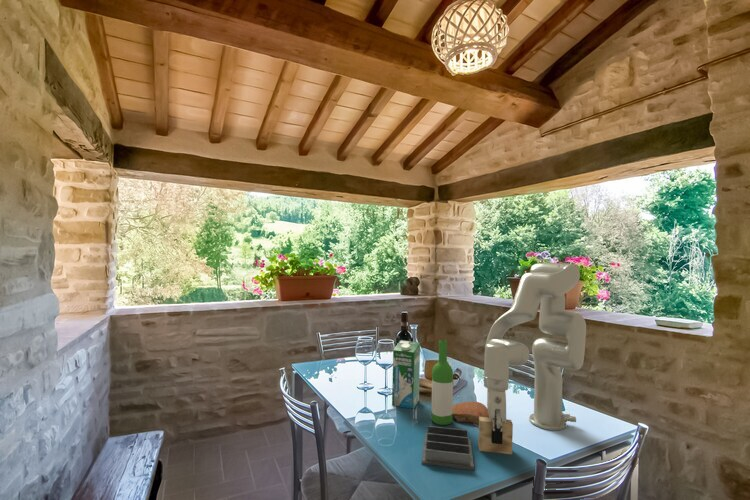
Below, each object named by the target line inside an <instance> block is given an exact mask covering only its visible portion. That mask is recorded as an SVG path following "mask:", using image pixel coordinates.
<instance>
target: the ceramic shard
mask: <svg viewBox="0 0 750 500" xmlns="http://www.w3.org/2000/svg"><path fill="white" fill-rule="evenodd" d="M488 416H489V415H488V410H487V406H486V405H485V404H484V403H482V402H478V401H462V402H459V403H456V404H453V413H452V420H453V419H454V420H456V421H457V422H458V423H463V422H464V423H472V424H477V425H479V417H488Z"/></svg>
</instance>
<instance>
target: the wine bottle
mask: <svg viewBox="0 0 750 500" xmlns="http://www.w3.org/2000/svg"><path fill="white" fill-rule="evenodd" d="M453 371H454V370H453V368H452V366H451V364H450V363H448V341H447V340H445V339H440V340H438V361H437V362H436V363H435V364H434V366H433V367H432V371H431V406H430V407H431V409H430V410H431V414H430V415H431V421H432V422H433V423H434V424H436V425H439V426H446V425H450V424H451V423H452V421H453V418H452V413H453V405H454V402H453V401H454V400H453V397H454V394H453V393H454V372H453Z"/></svg>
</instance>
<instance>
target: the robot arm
mask: <svg viewBox="0 0 750 500" xmlns="http://www.w3.org/2000/svg"><path fill="white" fill-rule="evenodd" d="M580 277H581V273H580V270H579V267H578V266H576V265H575V264H572V263H558V262H557V263H554V262H538V263H534V264H532V266H530V269H529V272H526V273H524V274H522V276H521V277H520V279H519V283H518V286H517V288H516V292H515V295H514V298H513V301H512V303H511V307H510V308H509V310H507V311H506V312H504V313H503V314H502V315H500V316H499V317H498V318H497V319H496V320H495V321H494V322H493V324H492V326H491V327H490V329H489V332H488V335H487V338H486V342H485V346H484V367H483V368H484V369H483V370H484V371H483V387H484V388H486V391H487V392H486V394H487V395H486V405H487V406H486V407H487V410H488V415H489V416H488V418H490V421H491V422H492V427H493V430H492V434H491V442H492V443H494V444H502V438H503V431H502V422H504V423H506V419H507V394H506V391H508V390H509V385H510V384H509V380H510V379H509V377H510V375H509V372H510V366H514V367H516V366H522V365H525V364H526V363H527V362H528V360H529V359H530V355H531V354H530V353H532V358H533V365H534V389H533V390H534V391H533V393H534V394H533V413H532V414H530V415H529V423H531V424H533V425H534V426H536V427H537V428H540V429H544V430H549V431H562V430H564V429H567V422H571V423H577V417H576V416H571V414H569V413H564V412H563V375H562V373H561V371H560V369H559V368H562V369H565V370H570V371H579V370H580V369H581V368H582V367H583V365H584V360H585V355H586V354H585V352H586V350H585V349H586V337H587V323H586V320H585V318H584V316H583V315H582V314H580V313H578V312H573V311H566V296H565V294H567V293H569V291H571V290H572V289H574V288H575V287H576V286H577V285H578V284H579V281H580V280H581V279H580ZM538 311H539V316H538V317H539V318H538V328H539V330H540V331H541V332H542V333H544V334H546V335H549V336H550V335H551V336H555V337H560V338H566V339H567V340H566V341H565V340H560V339H556V338H555V339H554V338H549V337H539V338H537V339H535V340H534V341H533V343H532V347H531V351H532V352H531V351H530V350H529V347H528V346H527V344H524V343H522V342H519V341H515V340H511V339H508V338H504V335H505V334H506V333H507V332H508V330H510V329H511V328H513V327H515V326H518V325H521V324H524V323H527V322H530V321H533V320H535V319H536V318H537V315H538ZM494 419H496V420H494ZM494 423H496V424H494Z"/></svg>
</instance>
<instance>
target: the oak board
mask: <svg viewBox="0 0 750 500" xmlns="http://www.w3.org/2000/svg"><path fill="white" fill-rule="evenodd" d="M494 420H496V419H494ZM494 424H496V423H494ZM513 428H514V425H513V421H512V420H511V419H507V418H506V423H504V422H502V431H503V438H502V444H494V443H492V442H491V434H492V430H493V427H492V422H491V421H490V418H488V417H479V424H478V442H477V444H478V451H479V452H490V453H497V454H504V455H505V454H506V455H513V437H514V436H513Z"/></svg>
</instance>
